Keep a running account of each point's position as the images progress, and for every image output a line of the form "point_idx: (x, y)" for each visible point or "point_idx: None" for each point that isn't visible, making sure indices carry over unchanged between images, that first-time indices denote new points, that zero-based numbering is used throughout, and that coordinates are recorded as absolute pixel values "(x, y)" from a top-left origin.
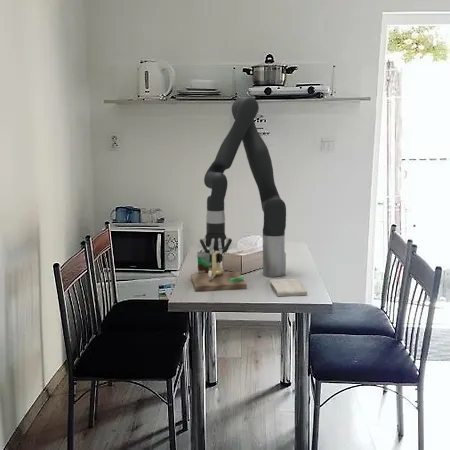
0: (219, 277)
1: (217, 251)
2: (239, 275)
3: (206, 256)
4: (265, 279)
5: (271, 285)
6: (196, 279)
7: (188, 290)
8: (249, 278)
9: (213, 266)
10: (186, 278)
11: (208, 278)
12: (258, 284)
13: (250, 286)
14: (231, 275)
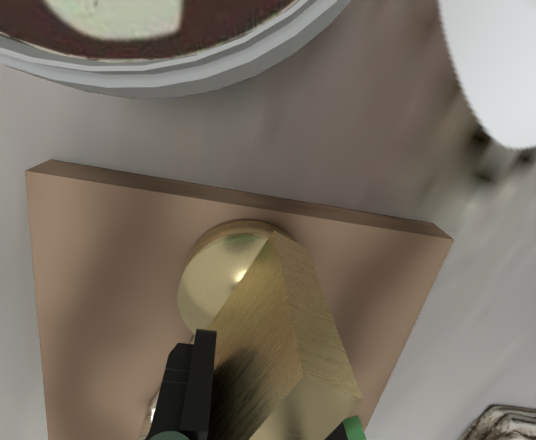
0: None
1: (312, 417)
2: (399, 331)
3: (182, 95)
4: (528, 333)
5: (473, 430)
6: (67, 340)
7: (23, 404)
8: (463, 290)
9: None
10: (5, 142)
11: (163, 340)
12: (433, 398)
13: (377, 415)
14: (348, 318)
